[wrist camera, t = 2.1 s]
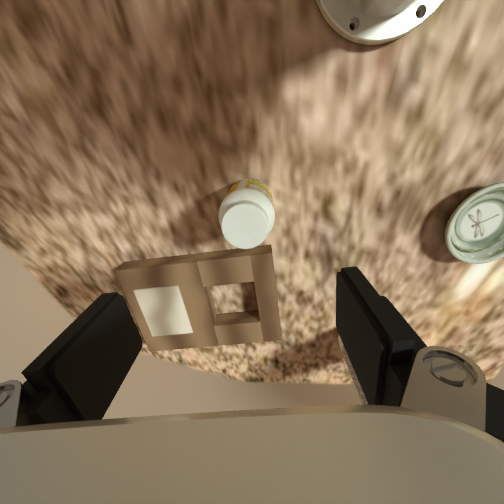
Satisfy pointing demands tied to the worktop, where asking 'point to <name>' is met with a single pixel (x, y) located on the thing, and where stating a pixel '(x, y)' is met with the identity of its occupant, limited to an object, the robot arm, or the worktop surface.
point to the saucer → (478, 226)
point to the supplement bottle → (247, 214)
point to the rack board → (200, 298)
